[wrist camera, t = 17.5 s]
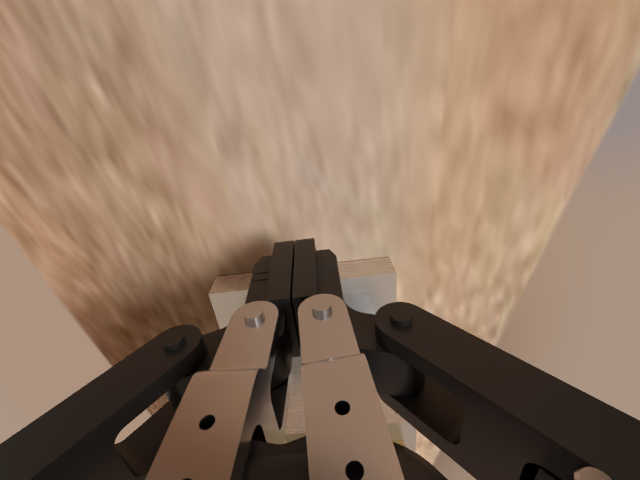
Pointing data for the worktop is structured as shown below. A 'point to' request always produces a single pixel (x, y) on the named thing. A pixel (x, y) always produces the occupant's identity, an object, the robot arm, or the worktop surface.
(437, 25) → the worktop surface
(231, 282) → the vise
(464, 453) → the robot arm
